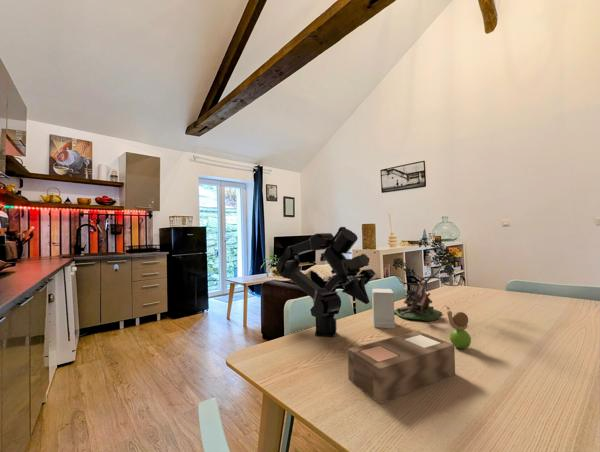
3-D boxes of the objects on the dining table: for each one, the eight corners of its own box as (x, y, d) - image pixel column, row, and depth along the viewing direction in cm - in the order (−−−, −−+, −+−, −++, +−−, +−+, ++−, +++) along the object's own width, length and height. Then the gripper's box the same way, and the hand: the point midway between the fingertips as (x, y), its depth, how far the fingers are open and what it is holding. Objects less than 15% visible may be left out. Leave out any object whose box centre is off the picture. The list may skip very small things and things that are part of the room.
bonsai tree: (444, 334, 91) (441, 239, 92) (380, 317, 109) (378, 238, 110) (478, 312, 114) (476, 236, 115) (420, 301, 132) (419, 236, 133)
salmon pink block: (379, 395, 58) (378, 361, 58) (360, 381, 64) (360, 351, 64) (399, 387, 61) (398, 355, 61) (380, 374, 66) (379, 345, 66)
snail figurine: (442, 344, 83) (441, 304, 83) (462, 343, 84) (461, 303, 84) (454, 352, 78) (453, 309, 78) (475, 351, 78) (474, 308, 78)
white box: (424, 377, 65) (424, 347, 65) (404, 366, 70) (404, 339, 70) (441, 371, 67) (440, 342, 68) (421, 361, 73) (420, 334, 73)
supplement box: (395, 328, 97) (394, 292, 97) (373, 327, 99) (372, 292, 99) (392, 321, 104) (391, 288, 105) (372, 320, 106) (371, 288, 106)
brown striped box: (380, 403, 55) (379, 368, 56) (348, 378, 65) (347, 349, 65) (455, 373, 66) (454, 344, 66) (418, 356, 76) (417, 330, 76)
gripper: (331, 247, 79) (364, 291, 70) (369, 244, 91) (401, 282, 83) (313, 272, 85) (341, 315, 76) (351, 266, 97) (379, 303, 88)
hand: (367, 303), depth 81 cm, fingers closed
